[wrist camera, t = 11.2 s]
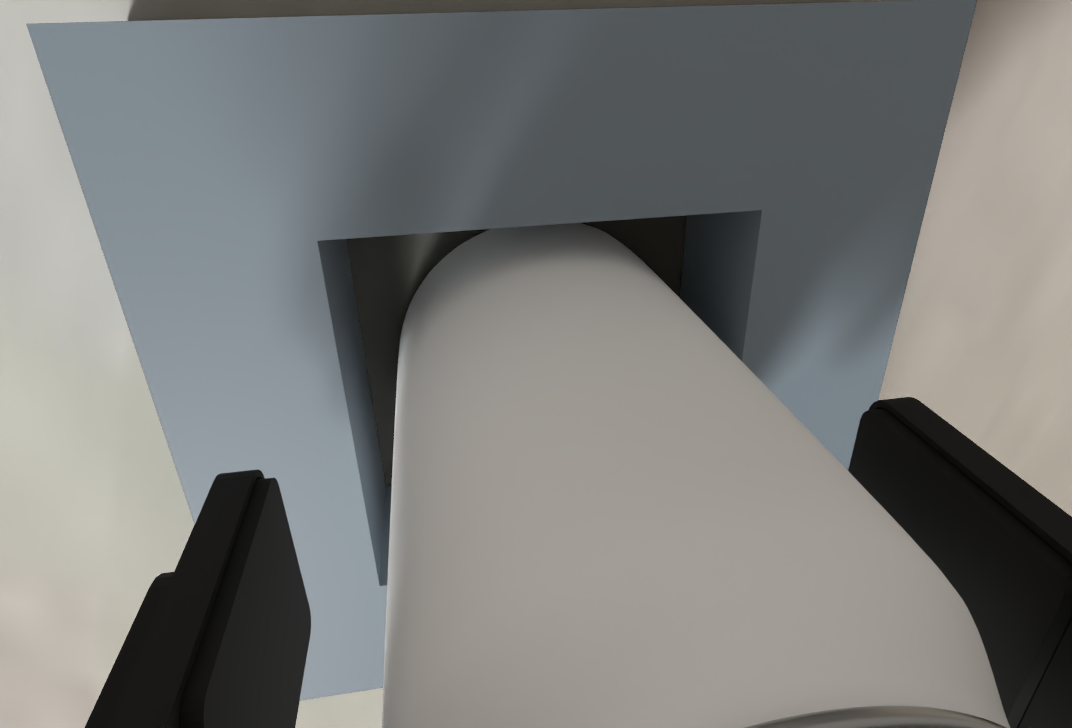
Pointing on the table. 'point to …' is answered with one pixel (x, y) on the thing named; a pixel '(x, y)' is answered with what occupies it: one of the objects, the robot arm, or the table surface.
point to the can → (637, 523)
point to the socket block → (485, 212)
